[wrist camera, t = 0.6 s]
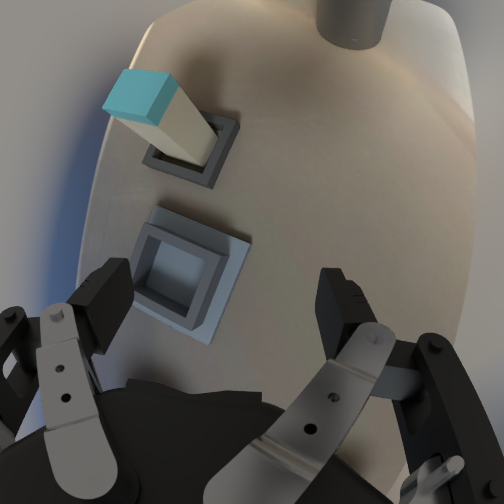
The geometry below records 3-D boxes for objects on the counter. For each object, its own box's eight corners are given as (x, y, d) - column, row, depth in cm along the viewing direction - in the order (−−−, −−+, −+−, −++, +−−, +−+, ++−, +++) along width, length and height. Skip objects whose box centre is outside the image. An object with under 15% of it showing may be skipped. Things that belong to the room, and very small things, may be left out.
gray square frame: (176, 111, 34) (170, 104, 32) (240, 127, 32) (236, 120, 30) (149, 167, 34) (141, 162, 32) (212, 189, 33) (206, 185, 31)
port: (159, 206, 34) (140, 199, 29) (251, 244, 32) (243, 242, 27) (126, 298, 34) (105, 302, 30) (211, 343, 32) (198, 355, 28)
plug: (182, 128, 34) (124, 68, 20) (218, 137, 33) (169, 73, 19) (168, 156, 34) (102, 108, 20) (204, 168, 33) (145, 116, 19)
